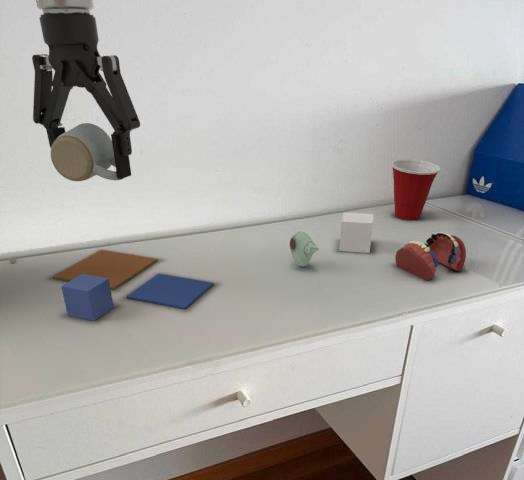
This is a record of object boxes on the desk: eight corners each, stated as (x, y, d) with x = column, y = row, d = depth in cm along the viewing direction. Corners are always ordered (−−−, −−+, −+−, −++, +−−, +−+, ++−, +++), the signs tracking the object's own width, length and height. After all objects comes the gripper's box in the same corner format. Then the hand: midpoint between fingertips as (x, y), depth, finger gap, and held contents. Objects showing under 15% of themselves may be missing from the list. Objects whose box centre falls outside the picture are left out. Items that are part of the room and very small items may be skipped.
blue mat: (126, 298, 85) (126, 296, 85) (158, 275, 93) (158, 273, 93) (185, 309, 82) (185, 307, 81) (213, 284, 89) (213, 282, 89)
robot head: (321, 272, 94) (323, 236, 90) (301, 276, 92) (302, 240, 89) (299, 257, 100) (300, 223, 96) (280, 261, 98) (281, 226, 95)
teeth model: (392, 234, 92) (441, 224, 97) (387, 266, 96) (434, 255, 101) (426, 250, 86) (476, 238, 91) (419, 285, 90) (468, 271, 95)
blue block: (67, 315, 80) (60, 286, 77) (88, 302, 84) (82, 273, 81) (94, 321, 78) (88, 291, 76) (113, 307, 82) (108, 278, 80)
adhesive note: (341, 240, 108) (343, 212, 105) (370, 242, 107) (373, 214, 104) (339, 251, 103) (341, 221, 100) (369, 253, 102) (372, 223, 99)
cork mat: (53, 278, 92) (52, 276, 92) (101, 251, 103) (101, 249, 103) (113, 289, 88) (113, 287, 88) (157, 260, 99) (157, 258, 99)
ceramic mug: (51, 182, 81) (41, 130, 77) (76, 170, 88) (67, 121, 84) (115, 186, 80) (108, 133, 76) (135, 173, 87) (130, 124, 82)
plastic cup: (414, 227, 115) (423, 171, 109) (375, 216, 122) (381, 163, 115) (441, 217, 121) (450, 163, 115) (402, 207, 128) (409, 156, 122)
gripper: (153, 11, 71) (168, 175, 83) (22, 14, 79) (53, 163, 91) (120, 10, 65) (142, 186, 77) (-18, 12, 73) (21, 172, 85)
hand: (94, 173), depth 84 cm, fingers closed on ceramic mug, 11 cm apart
